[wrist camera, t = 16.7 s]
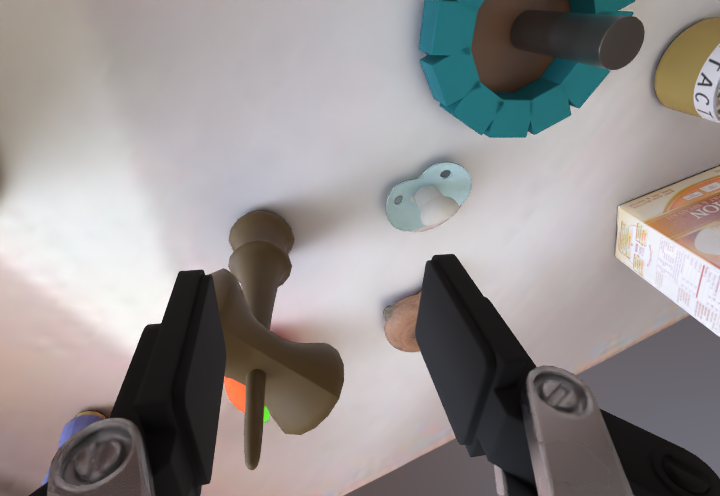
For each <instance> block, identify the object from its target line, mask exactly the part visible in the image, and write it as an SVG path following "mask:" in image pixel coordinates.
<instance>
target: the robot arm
mask: <svg viewBox="0 0 720 496" xmlns="http://www.w3.org/2000/svg"><path fill="white" fill-rule="evenodd" d="M415 337H416V341H417V344H418V346H419V349H420V351H421V354H422V356H423V358H424V361H425V363H426V366H427V368H428V371H429V373H430V375H431V378H432V380H433V383H434V385H435V388H436V390H437V392H438V395H439V397H440V400H441V402H442V405H443V407H444V410H445V412H446V414H447V417H448V419H449V422H450V424H451V427H452V429H453V431H454V434H455V436H456V439H457V441H458V442H459V444H461V445H465V446H466V448H467V450H468V452H469V455H470V457H476V456H482V455H486V457H487V459H488V461H489V462H491V463H493V464H494V470H495V478H496V487H497V495H498V496H720V479H719V477H718V476H717V475H716V473H715V472H714V471H713V470H712V469H711V468H710V467H709V466H708V465H707V464H706V463H705V462H703V461H702V460H701V459H700V458H698V457H697V456H696V455H694V454H692V453H690V452H689V451H687V450H685V449H684V448H681V447H679V446H677V445H675V444H673V443H671V442H668V441H667V440H665V439H662V438H660V437H658V436H656V435H654V434H652V433H650V432H648V431H646V430H644V429H641V428H639V427H637V426H635V425H633V424H631V423H629V422H627V421H625V420H622V419H620V418H618V417H616V416H614V415H612V414H610V413H608V412H606V411H604V410H601V409H599V407H598V404H597V401H596V399H595V396H594V395H593V393H592V391H591V389H590V388H589V387H588V386H587V385H586V384H585V383H584V382H583V380H581V379H580V378H578V377H577V376H576V375H574V374H573V373H571V372H568V371H566V370H564V369H562V368H558V367H554V366H540V367H536V365H535V364H534V363H533V361H532V360H531V358H530V357H529V356H528V354H527V353H526V351H525V350H524V348H523V347H522V346H521V344H520V343H519V341H518V340H517V338H516V337H515V336H514V334H513V333H512V331H511V330H510V329H509V327H508V326H507V324H506V323H505V321H504V320H503V319H502V317H501V316H500V314H499V313H498V311H497V310H496V309H495V307H494V306H493V304H492V303H491V302H490V300H489V299H488V298H486V297H484V296H483V295H482V293H481V292H480V290H479V289H478V287H477V286H476V285H475V283H474V282H473V280H472V279H471V277H470V276H469V274H468V273H467V272H466V270H465V269H464V267H463V266H462V264H461V263H460V261H459V260H458V259H457V257H456V256H455V255H454V254H445V255H434V256H433V258H432V260H429V261H427V262H426V266H425V272H424V278H423V284H422V290H421V297H420V303H419V309H418V315H417V321H416V327H415ZM225 366H226V346H225V340H224V335H223V329H222V324H221V319H220V313H219V308H218V302H217V297H216V292H215V286H214V281H213V277H212V275H205V273H204V271H203V270H191V271H180V272H179V273H178V276H177V279H176V282H175V285H174V288H173V291H172V294H171V296H170V299H169V302H168V305H167V308H166V311H165V314H164V317H163V320H162V323H161V324H150V325H147V326H146V327H145V328H144V330H143V332H142V335H141V338H140V340H139V343H138V345H137V348H136V350H135V353H134V356H133V358H132V361H131V363H130V366H129V369H128V371H127V374H126V376H125V379H124V381H123V384H122V387H121V389H120V392H119V394H118V397H117V400H116V402H115V405H114V407H113V410H112V412H111V415H110V418H108V419H104V420H101V421H97V422H94V423H92V424H90V425H88V426H86V427H84V428H82V429H81V430H79V431H78V432H77V433H75V434H74V435H72V436H71V437H70V438H69V439H68V440H67V441H66V442H65V443H64V444H63V445H62V446H61V447H60V448H59V450H58V451H57V453H56V455H55V456H54V458H53V460H52V462H51V466H50V469H49V474H48V482H47V483H45V484H44V485H43V486H41V487H40V488H39V489H37V490H36V491H35V492H33V493H32V494H30V495H29V496H200V494H201V487H202V485H205V484H209V483H210V480H211V475H212V467H213V459H214V452H215V444H216V436H217V428H218V421H219V413H220V405H221V397H222V390H223V382H224V374H225Z"/></svg>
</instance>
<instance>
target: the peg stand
mask: <svg viewBox="0 0 720 496" xmlns="http://www.w3.org/2000/svg"><path fill="white" fill-rule="evenodd" d="M643 40H644V27H643V24H642V22H641V21H640V20H639V19H638V18H636V17H633V16H620V15H604V14H588V13H573V12H571V10H570V4H569V0H484V2H483V3H482V5H481V6H480V8H479V9H478V12H477V18H476V23H475V29H474V34H473V40H472V46H471V52H472V55H473V59H474V62H475V65H476V69H477V72H478V75H479V79H480V82H481V83H483V84H484V85H485V86H486V87H488V88H489V89H490V90H491V91H493V92H515V91H517V90H519V89H521V88H522V87H524V86H526V85H528V84H530V83H531V82H533V81H535V80H537V79H539V78H540V77H541V76H542V74H543V73H544V72H545V70H546V69H547V68H548V67H549V65H550V64H551V63H552V61H553V60H554V59H555V58H560V59H564V60H569V61H573V62H577V63H582V64H586V65H591V66H595V67H599V68H604V69H608V70H616V69H620V68H622V67H624V66H626V65H627V64H628V63H630V62H631V61H632V60H633V59H634V58H635V56H636V55H637V54H638V52H639V50H640V48H641V46H642V43H643Z"/></svg>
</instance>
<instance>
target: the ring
mask: <svg viewBox="0 0 720 496" xmlns="http://www.w3.org/2000/svg"><path fill="white" fill-rule="evenodd" d="M634 1H635V0H569V4H570V10H571V12H573V13H588V14H604V15H620V16H633V12H624V11H618V10H620V9H622V8H624V7H626V6H627V5H629V4H631V3H633V2H634ZM483 2H484V0H425V1H424V8H423V17H422V26H421V34H420V43H419V50H420V51H423V52H425V53H428V54H429V55H428V56H426V57H424V58H422V59H421V60H420V63H421V65H422V68H423V70H424V73H425V76H426V78H427V81H428V84H429V86H430V89H431V92H432V94H433V97H434V99H436V100H437V101H439V102H440V105H439V106H441V107H442V108H443V109H445V110H446V111H448V112H449V113H450V114H452V115H453V116H455V117H456V118H457V119H459V120H460V121H462V122H463V123H464V124H466V125H467V126H469V127H470V128H472V129H473V130H475V131H476V132H477V133H479V134H480V135H482V134H483V133H484V134H485V135H487V136H488V137H526V135H527V132H530V133H532V134H534V135H535V134H537V133H539V132H541V131H543V130H544V129H546V128H548V127H550V126H552V125H554V124H555V123H557V122H559V121H561V120H563V119H565V118H567V117H568V116H570V115H571V111H570V105H571V106H574V107H576V108H580V107H581V106H582V105H583V103H584V102H585V101H586V100H587V99H588V97H589V96H590V95H591V94H592V93H593V91H594V90H595V89H596V88H597V87H598V85H599V84H600V83H601V82H602V81H603V79H604V78H605V77H606V76H607V75H608V73H609V72H610V71H609V70H608V69H604V68H599V67H595V66H591V65H586V64H582V63H577V62H573V61H569V60H564V59H560V58H555V59H554V60H553V61H552V63H551V64H550V65H549V67H548V68H547V69H546V70H545V72H544V73H543V74H542V76H541V77H540V78H539V79H537V80H535V81H533V82H531V83H530V84H528V85H526V86H524V87H522V88H521V89H519V90H517V91H515V92H493V91H491V90H490V89H489V88H488V87H486V86H485V85H484V84H483V83H481V82H480V79H479V75H478V72H477V69H476V65H475V62H474V59H473V55H472V52H471V46H472V40H473V34H474V29H475V23H476V18H477V12H478V9H479V8H480V6H481V5H482V3H483Z"/></svg>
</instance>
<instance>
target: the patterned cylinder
mask: <svg viewBox="0 0 720 496" xmlns="http://www.w3.org/2000/svg"><path fill="white" fill-rule="evenodd" d="M654 86H655V92H656V95H657V97H658V99H659V101H660V102H661V103H662V104H663V105H664V106H666V107H668V108H670V109H673V110H677V111H680V112H684V113H687V114H690V115H694V116H697V117H701V118H704V119H707V120H710V121H713V122H717V123H720V17H718V18H709V19H705V20H702V21H700V22H698V23H696V24H694V25H693V26H691V27H689V28H688V29H686V30H685V31H684V32H682V33H681V34H680V35H679V36H678V37H677V38H676V39H675V40H674V41H673V42H672V43H671V44H670V46H669V47H668V48H667V50H666V51H665V53H664V55H663V56H662V58H661V60H660V62H659V65H658V67H657V70H656V74H655V82H654Z"/></svg>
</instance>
